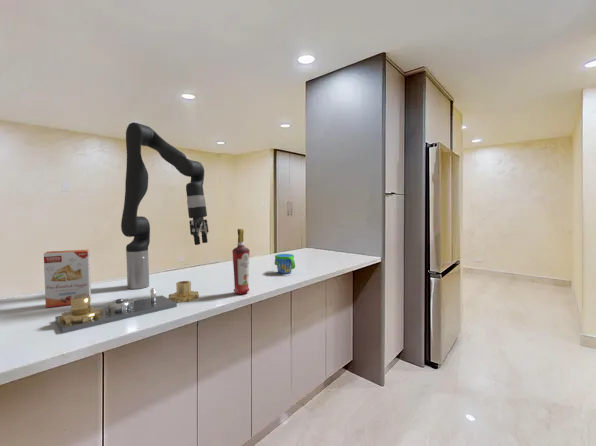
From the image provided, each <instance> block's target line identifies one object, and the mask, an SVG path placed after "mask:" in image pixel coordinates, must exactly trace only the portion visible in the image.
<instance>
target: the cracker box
mask: <svg viewBox="0 0 596 446" xmlns="http://www.w3.org/2000/svg"><path fill="white" fill-rule="evenodd" d="M90 257H91V255H90V249H75V250H74V249H72V250H51V251H46V252H44V253H43V270H44V271H43V272H44V297H45V308H47V309H48V308H55V307H63V306H71V299H72V298H75V297H79V296H90V301H91V300H92V285H91V282H92V281H91V260H90V259H91V258H90Z"/></svg>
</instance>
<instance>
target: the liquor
mask: <svg viewBox="0 0 596 446" xmlns="http://www.w3.org/2000/svg"><path fill="white" fill-rule="evenodd" d="M244 234H245V230H244V228H237V246H236V247H234V249H232V267H233V281H234V283H233V284H234V289H233V292H234V293H235V294H236V295H246V294H247V293H248V292H249V291H250V287H249V281H250V280H249V271H250V251H251V250H250V249H249V248H248V247H246V246H245V241H244V239H245V238H244V236H245V235H244Z"/></svg>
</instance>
